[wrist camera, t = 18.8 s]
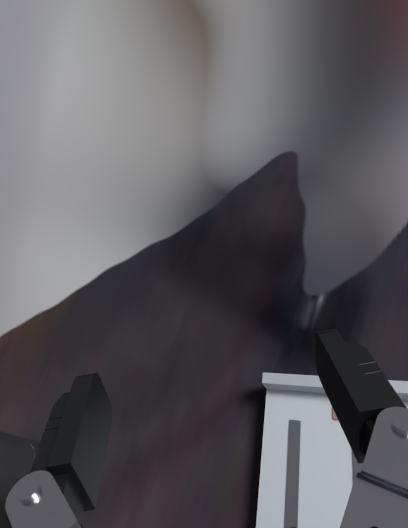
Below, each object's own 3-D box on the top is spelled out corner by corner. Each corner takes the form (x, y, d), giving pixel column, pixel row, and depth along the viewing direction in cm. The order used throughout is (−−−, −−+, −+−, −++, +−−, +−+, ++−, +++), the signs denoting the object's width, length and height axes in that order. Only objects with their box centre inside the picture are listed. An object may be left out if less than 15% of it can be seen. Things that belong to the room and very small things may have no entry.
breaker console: (515, 728, 28) (541, 763, 24) (252, 642, 36) (237, 658, 31) (457, 398, 41) (468, 383, 36) (271, 385, 48) (262, 371, 44)
